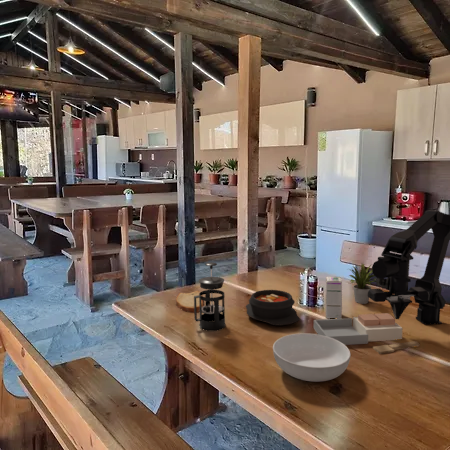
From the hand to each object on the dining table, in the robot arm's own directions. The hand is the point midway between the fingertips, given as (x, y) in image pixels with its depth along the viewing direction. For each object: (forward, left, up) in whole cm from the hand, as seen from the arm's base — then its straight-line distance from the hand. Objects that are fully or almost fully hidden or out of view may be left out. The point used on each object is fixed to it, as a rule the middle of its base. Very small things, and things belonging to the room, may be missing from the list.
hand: (396, 318), depth 139 cm
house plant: (0, -30, -5) cm, 31 cm away
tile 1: (+10, 0, -1) cm, 10 cm away
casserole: (+39, -19, -5) cm, 44 cm away
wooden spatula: (+5, +11, -5) cm, 13 cm away
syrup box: (+16, -17, -5) cm, 24 cm away
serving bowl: (+36, +22, -5) cm, 42 cm away
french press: (+62, -13, -5) cm, 63 cm away
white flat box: (+7, 0, -5) cm, 8 cm away
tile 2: (+4, 0, -1) cm, 4 cm away
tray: (+19, 0, -5) cm, 20 cm away
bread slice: (+68, -38, -6) cm, 78 cm away
